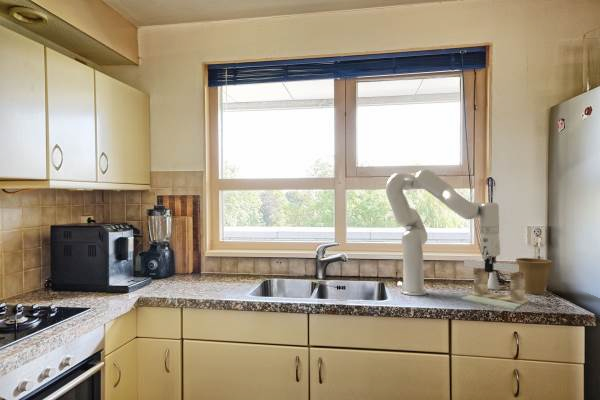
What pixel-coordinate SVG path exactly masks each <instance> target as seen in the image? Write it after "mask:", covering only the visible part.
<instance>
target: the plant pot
mask: <svg viewBox="0 0 600 400" xmlns="http://www.w3.org/2000/svg"><path fill="white" fill-rule="evenodd" d="M515 262H516V265H519V272H525V294H531V295H543V294H544V292H545V291H546V290H545V289H546V288H547V285H548V281H549V278H550V274H551V269H552V260H550V259H543V258H533V257H531V258H530V257H520V258H516V259H515Z"/></svg>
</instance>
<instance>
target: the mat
mask: <svg viewBox="0 0 600 400" xmlns="http://www.w3.org/2000/svg"><path fill="white" fill-rule="evenodd" d="M461 300H463V301H468V302H474V303H479V304H483V305H489V306H495V307H500V308H505V309H510V310H515V309H518V308H519V307H521V304H517V303H511V302H506V301H500V300H495V299H489V298H484V297H478V296H472V295H471V294H468V295H466V296H463V297H461Z"/></svg>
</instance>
